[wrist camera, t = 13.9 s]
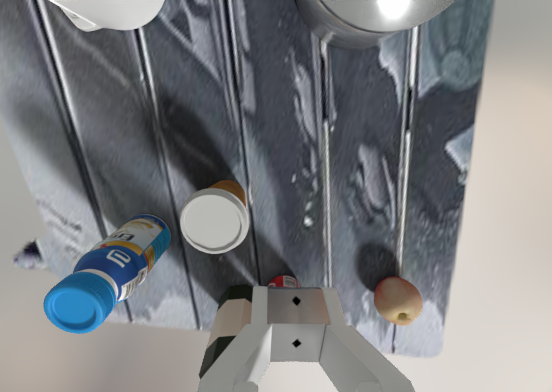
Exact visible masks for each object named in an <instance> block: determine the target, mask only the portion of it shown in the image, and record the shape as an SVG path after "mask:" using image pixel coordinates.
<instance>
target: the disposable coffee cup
mask: <svg viewBox="0 0 552 392" xmlns="http://www.w3.org/2000/svg"><path fill="white" fill-rule="evenodd" d="M180 225H181V230H182V233H183V235H184V237H185V239H186V240H187V241H188V242H189V243H190V244H191V245H192V246H193V247H194V248H196V249H198V250H200V251H202V252H205V253H210V254H218V253H224V252H227V251H229V250H231V249H233V248H235V247H236V246H238V245H239V244H240V243H241V242H242V241H243V240H244V238H245V237H246V235H247V232H248V229H249V216H248V212H247V209H246V201H245V193H244V190H243V189H242V187H241V186H240V185H239V184H238V183H236V182H234V181H231V180H222V181H219V182H217V183H215V184H214V185H212V186H210V187H209V188H207V189H202V190H200V191H197V192H195V193H194V194H192V195H191V196H189V198H188V199H187V200H186V201H185V202H184V204H183V206H182V208H181V211H180Z"/></svg>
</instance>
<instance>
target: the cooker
mask: <svg viewBox="0 0 552 392" xmlns="http://www.w3.org/2000/svg"><path fill="white" fill-rule="evenodd" d="M454 1H455V0H296V3H297V6H298V9H299V12H300V14H301V16H302V18H303V20H304V22H305V23H306V25H307V26H308V28H309V29H310V30H311V31H312V32H313V33H314V34H315V35H316V36H317V37H318V38H319V39H320V40H322V41H323V42H325V43H327V44H328V45H331V46H333V47H335V48H339V49H343V50H362V49H367V48H370V47H373V46H376V45H378V44H380V43H382V42H384V41H385V40H387V39H388V38H390V37H392V36H393V35H395V34H397V33H398V32H401V31H404V30H408V29H411V28H414V27H416V26H418V25H420V24H422V23H424V22H426V21H428V20H430V19H431V18H433V17H434V16H436V15H438V14H439V13H441V12H442V11H443V10H445V9H446V8H447V7H448V6H450V5H451V4H452V3H453V2H454Z"/></svg>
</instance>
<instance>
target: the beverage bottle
mask: <svg viewBox="0 0 552 392" xmlns="http://www.w3.org/2000/svg"><path fill="white" fill-rule="evenodd" d="M170 241H171V233H170V230H169V228H168V226H167V225H166V223H165V222H164V221H163V220H161V219H160V218H158V217H156V216H154V215H150V214H141V215H137V216H135V217H133V218H132V219H130V220H129V221H128V222H127V223H126V224H124V225H123V226H122V227H120V228H119V229H118V230H116V231H115V232H114V233H112V234H111V235H110V236H108V237H107V238H106V239H105V240H102V241H100V242H99V243H98V244H96V245H95V246H94V247H93V248H92V249H91V250H90V252H88V253H86V254H85V255H84V256H83V257H82V258H81V259H80V260H79V261H78V263H77V264H76V266H75V268H74V271H73V274H70V275H69V276H67V277H66V278H64V279H63V280H62V281H61V282H59V283H58V284H57V285H56V286H54V287H53V288H52V289H51V290H50V292H49V293H48V294H47V295H46V297H45V299H44V310H45V313H46V315H47V317H48V318H49V320H50V321H51V322H52V323H53V324H54V325H55V326H57V327H59V328H60V329H63V330H64V331H67V332H71V333H78V334H80V333H87V332H90V331H93V330H94V329H96V328H97V327H98V326H99V325H101V324H102V323H103V321H104V320H105V319H106V318H107V316H108V315H109V314H110V313H111V311H112V310H113V308H114V307H115V304H117V303H120V302H122V301H124V300H125V299H127V298H128V297H129V296H131V295H132V294H133V292H134V291H135V290H136V288H137V287H138V286H139V285H140V284H141V283H142V282H143V281H144V280H145V278H146V276H147V274H148V272H149V271H150V270H151V268H152V267H153V266H154V264H155V263H156V262H157V260H158V259H159V258H160V256H161V255H162V254H163V252H164V251H165V250H166V249H167V248H168V246H169V244H170Z"/></svg>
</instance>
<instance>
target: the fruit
mask: <svg viewBox="0 0 552 392" xmlns="http://www.w3.org/2000/svg"><path fill="white" fill-rule="evenodd" d="M374 303H375V306H376V308H377V310H378V312H379V314H380V315H381V316H382V317H384V318H385V319H387V320H389V321H391V322H392V323H394V324H397V325H402V326H403V325H409V324H410V323H412V322H413V320H414V319H415V318H417V317H418V316H419V315H420V313H421V311H422V298H421V295H420V293H419V291H418V290H417V288H416V287H415V286H413V285H412V284H411V283H410V282H408V281H406V280H404V279H402V278H399V277H393V276H391V277H387V278H384V279H383V280H381V281H380V282H379V284H378V285H377V287H376V289H375V294H374Z"/></svg>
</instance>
